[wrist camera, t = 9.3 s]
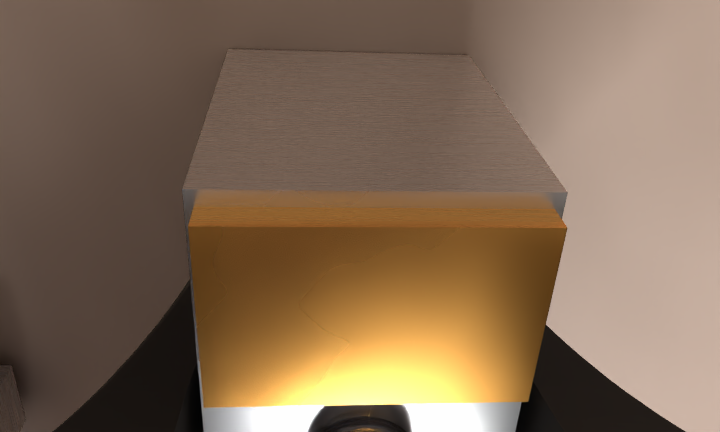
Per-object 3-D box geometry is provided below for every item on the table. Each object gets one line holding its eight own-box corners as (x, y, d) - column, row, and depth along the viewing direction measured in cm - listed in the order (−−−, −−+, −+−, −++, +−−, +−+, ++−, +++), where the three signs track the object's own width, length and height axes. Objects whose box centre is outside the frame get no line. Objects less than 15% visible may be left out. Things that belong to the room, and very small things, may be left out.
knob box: (416, 466, 17) (461, 720, 12) (247, 470, 16) (225, 734, 12) (468, 55, 12) (581, 211, 7) (227, 48, 11) (176, 207, 7)
